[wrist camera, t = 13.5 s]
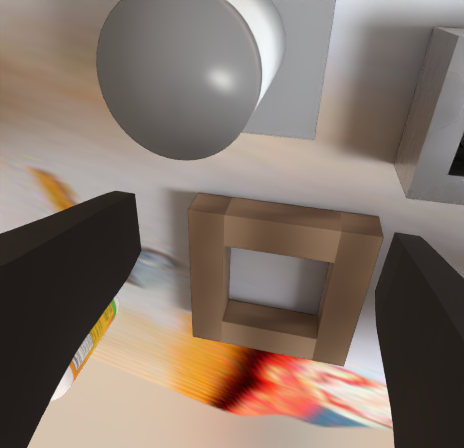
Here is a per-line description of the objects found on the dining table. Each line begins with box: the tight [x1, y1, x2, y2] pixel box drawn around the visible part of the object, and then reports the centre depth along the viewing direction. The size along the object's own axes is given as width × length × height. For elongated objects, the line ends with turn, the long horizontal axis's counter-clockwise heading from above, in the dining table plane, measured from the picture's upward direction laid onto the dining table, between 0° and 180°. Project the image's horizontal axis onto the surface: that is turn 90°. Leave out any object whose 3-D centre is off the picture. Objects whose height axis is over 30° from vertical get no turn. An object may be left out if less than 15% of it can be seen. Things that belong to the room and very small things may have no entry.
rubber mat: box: [241, 0, 336, 140], centre depth 17 cm, size 8×8×1 cm
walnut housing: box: [188, 193, 383, 366], centre depth 23 cm, size 10×10×2 cm
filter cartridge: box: [96, 0, 286, 160], centre depth 13 cm, size 4×4×8 cm
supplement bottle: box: [50, 295, 119, 401], centre depth 24 cm, size 5×5×10 cm
